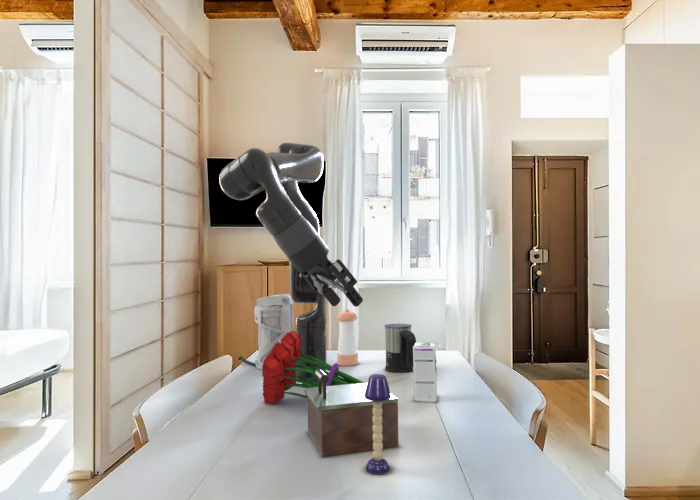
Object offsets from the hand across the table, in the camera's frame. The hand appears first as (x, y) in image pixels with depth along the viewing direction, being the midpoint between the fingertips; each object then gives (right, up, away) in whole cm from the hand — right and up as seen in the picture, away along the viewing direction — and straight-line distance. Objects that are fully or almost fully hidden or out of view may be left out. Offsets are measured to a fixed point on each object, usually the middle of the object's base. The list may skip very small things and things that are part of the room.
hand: (347, 303), depth 100 cm
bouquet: (-7, -29, +25) cm, 39 cm away
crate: (+1, -28, +1) cm, 28 cm away
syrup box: (+21, -29, +29) cm, 46 cm away
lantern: (-26, -30, +69) cm, 80 cm away
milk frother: (+21, -29, +63) cm, 72 cm away
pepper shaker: (0, -29, +72) cm, 78 cm away
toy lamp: (+6, -28, -13) cm, 32 cm away
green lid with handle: (0, -19, +1) cm, 20 cm away
